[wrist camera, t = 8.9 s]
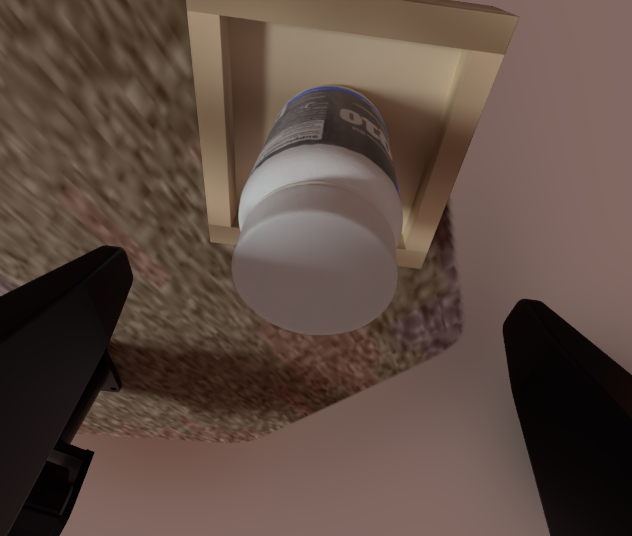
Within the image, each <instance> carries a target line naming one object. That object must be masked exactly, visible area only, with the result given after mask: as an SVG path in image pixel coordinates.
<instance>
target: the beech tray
mask: <svg viewBox="0 0 632 536" xmlns="http://www.w3.org/2000/svg"><path fill="white" fill-rule="evenodd" d="M186 4H187V14H188V24H189V34H190V44H191V54H192V64H193V74H194V84H195V94H196V104H197V114H198V123H199V133H200V143H201V153H202V163H203V173H204V183H205V193H206V203H207V213H208V223H209V233H210V242H215V243H223V244H231V245H236V244H237V241H238V239H239V236H240V233H241V231H240V227H239V218H238V213H239V204H240V198H241V194H242V191H243V189H244V186H245V184H246V182H247V179H248V178H249V176H250V174H251V172H252V170H253V167H254V165H255V163H256V161H257V159H258V157H259V154H260V152H261V151H262V148H263V146H264V144H265V142H266V140H267V138H268V135H269V133H270V131H271V129H272V126H273V124H274V122H275V120H276V118H277V116H278V114H279V112H280V111H281V109H282V108H283V107H284V105H285V104H286V103H287V102H288V101H289V100H290V99H291V98H293V97H294V96H295V95H297V94H298V93H300V92H302V91H304V90H306V89H308V88H311V87H314V86H319V85H339V86H344V87H347V88H350V89H353V90H355V91H357V92H359V93H361V94H362V95H364V96H365V97H366V98H367V99H369V100H370V101H371V102H372V104H373V105H374V106H375V107H376V109H377V110H378V111H379V113H380V115H381V117H382V119H383V121H384V124H385V127H386V130H387V133H388V138H389V143H390V148H391V154H392V159H393V163H394V168H395V174H396V178H397V183H398V187H399V193H400V198H401V203H402V211H403V227H402V233H401V237H400V241H399V243H398V246H397V248H396V262H397V266H403V267H411V268H419V269H421V267H422V265H423V262H424V260H425V257H426V254H427V252H428V249H429V247H430V244H431V242H432V239H433V237H434V234H435V231H436V229H437V226H438V224H439V221H440V219H441V216H442V214H443V211H444V209H445V206H446V203H447V201H448V198H449V196H450V193H451V190H452V188H453V186H454V183H455V180H456V178H457V175H458V173H459V170H460V168H461V165H462V163H463V160H464V157H465V155H466V152H467V150H468V147H469V145H470V142H471V140H472V137H473V134H474V132H475V129H476V127H477V124H478V122H479V119H480V117H481V114H482V112H483V109H484V106H485V104H486V101H487V99H488V96H489V93H490V91H491V88H492V86H493V83H494V81H495V78H496V76H497V73H498V71H499V68H500V65H501V63H502V60H503V58H504V55H505V53H506V50H507V48H508V45H509V43H510V40H511V37H512V35H513V32H514V30H515V27H516V25H517V22H518V20H519V16H516V15H513V14H511V13H508V12H506V11H503V10H501V9H498V8H496V7H493V6H487V5H479V4H472V3H466V2H459V1H452V0H186Z"/></svg>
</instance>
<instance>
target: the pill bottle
mask: <svg viewBox="0 0 632 536" xmlns="http://www.w3.org/2000/svg"><path fill="white" fill-rule="evenodd" d="M238 218H239V227H240V231H241V233H240V236H239V239H238V241H237V244H236V247H235V249H234V253H233V257H232V277H233V281H234V284H235V287H236V289H237V291H238V293H239V295H240V296H241V298H242V299H243V300H244V302H245V303H246V304H247V305H248V306H249V307H250V308H251V309H252V310H253V311H254V312H255V313H256V314H257V315H259V316H260V317H262V318H263V319H265V320H267V321H268V322H270V323H272V324H274V325H276V326H278V327H281V328H283V329H286V330H289V331H293V332H297V333H302V334H308V335H333V334H339V333H345V332H349V331H352V330H355V329H358V328H360V327H362V326H364V325H366V324H368V323H369V322H371V321H373V320H374V319H375V318H377V317H378V316H379V315H380V314H381V313H382V312H383V311H384V310H385V309H386V308H387V306H388V305H389V303H390V302H391V300H392V298H393V296H394V293H395V289H396V285H397V262H396V248H397V246H398V243H399V241H400V237H401V233H402V227H403V211H402V203H401V198H400V193H399V187H398V183H397V178H396V174H395V168H394V163H393V159H392V154H391V148H390V143H389V138H388V133H387V130H386V127H385V124H384V121H383V119H382V117H381V115H380V113H379V111H378V110H377V109H376V107H375V106H374V105H373V104H372V102H371V101H370V100H369V99H367V98H366V97H365V96H364V95H362V94H361V93H359V92H357V91H355V90H353V89H350V88H347V87H344V86H339V85H319V86H314V87H311V88H308V89H306V90H304V91H302V92H300V93H298V94H297V95H295V96H294V97H293V98H291V99H290V100H289V101H288V102H287V103H286V104H285V105H284V107H283V108H282V109H281V111H280V112H279V114H278V116H277V118H276V120H275V122H274V124H273V126H272V129H271V131H270V133H269V135H268V138H267V140H266V142H265V144H264V146H263V148H262V151H261V152H260V154H259V157H258V159H257V161H256V163H255V165H254V167H253V170H252V172H251V174H250V176H249V178H248V179H247V182H246V184H245V186H244V189H243V191H242V194H241V198H240V204H239V213H238Z"/></svg>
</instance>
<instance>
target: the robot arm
mask: <svg viewBox="0 0 632 536" xmlns="http://www.w3.org/2000/svg"><path fill="white" fill-rule="evenodd" d="M132 282H133V274H132V270H131V267H130V264H129V260H128V257H127V254H126V251H125V250H124V249H123V248H121V247H116V246H108V245H106V246H101V247H99V248H97V249H95V250H93V251H91V252H89V253H87V254H85V255H83V256H81V257H79V258H77V259H75V260H73V261H71V262H69V263H67V264H65V265H63V266H61V267H59V268H57V269H55V270H53V271H51V272H49V273H47V274H45V275H42V276H40V277H38V278H36V279H34V280H32V281H30V282H28V283H26V284H24V285H22V286H20V287H18V288H16V289H14V290H12V291H10V292H8V293H6V294H4V295H2V296H0V536H59V535H60V534H61V532H62V530H63V528H64V526H65V525H66V523H67V521H68V519H69V517H70V514H71V512H72V510H73V507H74V504H75V502H76V499H77V497H78V494H79V492H80V489H81V486H82V484H83V481H84V478H85V476H86V473H87V471H88V468H89V465H90V463H91V460H92V457H93V455H94V452H93V451H90V450H88V449H87V450H84V449H81V448H78V447H76V446H73V445H71V444H70V443H71V442H72V440H73V438H74V436H75V435H76V433H77V431H78V429H79V427H80V426H81V424H82V422H83V420H84V419H85V417H86V415H87V413H88V412H89V410H90V408H91V406H92V404H93V403H94V401H95V399H96V397H97V396H98V394H99V392H100V390H102V391H110V392H119V391H120V389H121V387H122V385H121V382H120V380H119V378H118V375H117V373H116V371H115V369H114V366H113V364H112V362H111V360H110V357H109V355H108V353H107V350H106V347H107V345H108V343H109V341H110V339H111V337H112V334H113V332H114V329H115V327H116V324H117V322H118V319H119V316H120V314H121V311H122V309H123V306H124V304H125V301H126V298H127V296H128V293H129V291H130V288H131V285H132ZM503 337H504V344H505V351H506V356H507V363H508V371H509V377H510V383H511V389H512V394H513V398H514V402H515V406H516V410H517V413H518V417H519V420H520V425H521V428H522V432H523V435H524V439H525V443H526V447H527V450H528V454H529V458H530V462H531V465H532V469H533V473H534V477H535V480H536V484H537V488H538V492H539V496H540V499H541V503H542V506H543V510H544V514H545V518H546V522H547V525H548V528H549V533H550V536H632V375H631V374H630V373H629V372H627V371H626V370H625V369H624V368H622V367H621V366H620V365H619V364H617V363H616V362H615V361H614V360H613V359H611V358H610V357H609V356H608V355H606V354H605V353H604V352H603V351H602V350H600V349H599V348H598V347H597V346H595V345H594V344H593V343H592V342H591V341H589V340H588V339H587V338H585V337H584V336H583V335H582V334H581V333H579V332H578V331H577V330H576V329H575V328H573V327H572V326H571V325H570V324H568V323H567V322H566V321H565V320H563V319H562V318H561V317H560V316H559V315H557V314H556V313H555V312H554V311H552V310H551V309H550V308H549V307H547V306H546V305H545V304H544V303H543V302H541V301H537V300H530V299H521V300H520V301H518V303H517V304H516V305H515V307H514V308H513V310H512V311H511V312H510V314H509V315H508V317H507V318H506V320H505V322H504V324H503Z"/></svg>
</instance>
